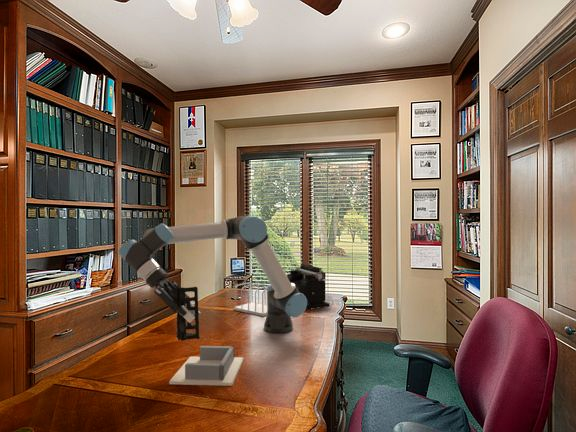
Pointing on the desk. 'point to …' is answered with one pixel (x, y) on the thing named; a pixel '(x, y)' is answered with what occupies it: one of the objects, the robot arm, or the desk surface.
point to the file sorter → (252, 306)
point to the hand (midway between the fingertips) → (195, 317)
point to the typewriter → (310, 284)
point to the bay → (210, 367)
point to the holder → (180, 319)
